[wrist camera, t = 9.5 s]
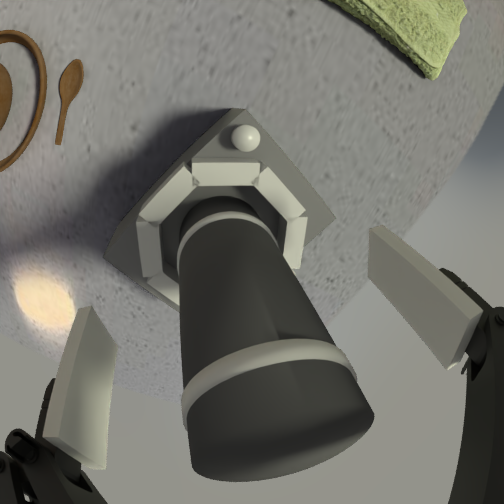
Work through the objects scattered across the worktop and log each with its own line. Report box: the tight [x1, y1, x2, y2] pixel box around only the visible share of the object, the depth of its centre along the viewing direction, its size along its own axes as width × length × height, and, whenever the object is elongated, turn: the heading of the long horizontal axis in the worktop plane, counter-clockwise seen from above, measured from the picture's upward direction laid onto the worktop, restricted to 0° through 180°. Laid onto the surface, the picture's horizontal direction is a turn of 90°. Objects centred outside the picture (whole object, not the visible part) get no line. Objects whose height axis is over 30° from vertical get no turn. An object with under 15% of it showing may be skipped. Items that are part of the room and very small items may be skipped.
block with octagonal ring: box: [103, 108, 336, 313], centre depth 19 cm, size 12×9×6 cm
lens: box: [177, 196, 374, 482], centre depth 12 cm, size 5×5×13 cm
